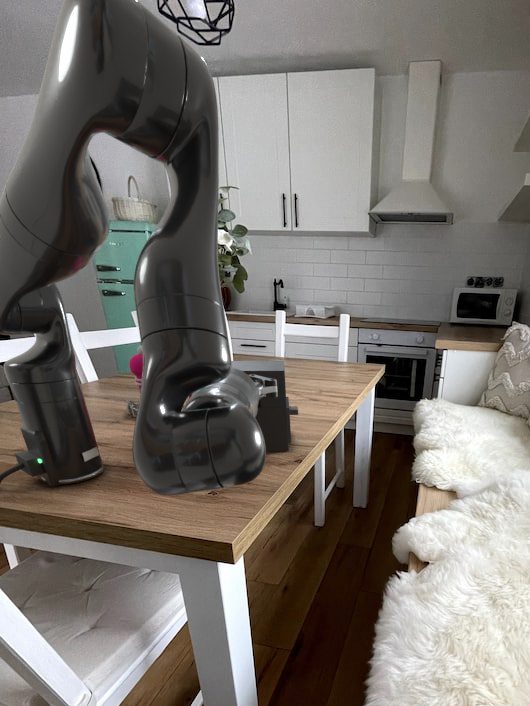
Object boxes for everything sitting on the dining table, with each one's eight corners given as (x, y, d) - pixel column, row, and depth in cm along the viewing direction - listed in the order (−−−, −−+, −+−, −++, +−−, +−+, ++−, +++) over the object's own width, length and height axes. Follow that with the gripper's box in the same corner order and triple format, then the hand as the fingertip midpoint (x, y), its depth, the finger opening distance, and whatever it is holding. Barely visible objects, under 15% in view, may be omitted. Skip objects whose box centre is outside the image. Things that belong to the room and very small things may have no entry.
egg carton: (125, 413, 108) (122, 398, 106) (154, 408, 113) (151, 394, 111) (139, 421, 101) (136, 405, 99) (169, 416, 106) (166, 400, 104)
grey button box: (298, 432, 97) (295, 360, 89) (300, 451, 85) (297, 370, 78) (223, 434, 93) (214, 360, 86) (216, 454, 82) (204, 371, 75)
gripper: (278, 372, 48) (278, 353, 64) (163, 373, 46) (192, 353, 61) (282, 430, 51) (281, 399, 67) (174, 434, 49) (199, 401, 65)
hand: (238, 377), depth 64 cm, fingers closed
